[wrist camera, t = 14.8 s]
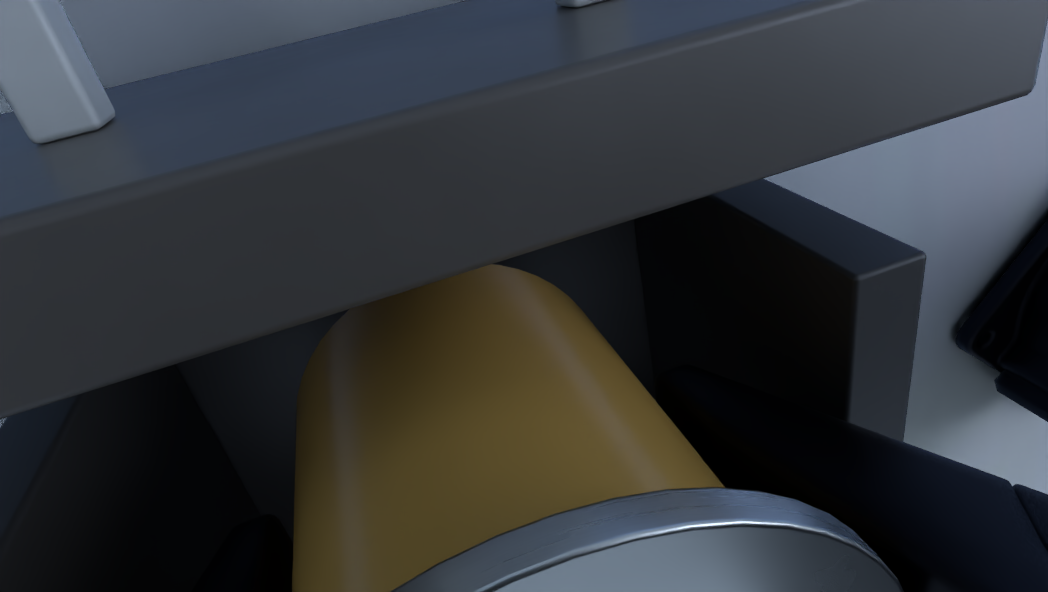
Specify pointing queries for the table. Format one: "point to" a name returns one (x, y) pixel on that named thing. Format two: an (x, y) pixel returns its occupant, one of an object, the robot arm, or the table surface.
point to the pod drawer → (435, 229)
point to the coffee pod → (524, 463)
